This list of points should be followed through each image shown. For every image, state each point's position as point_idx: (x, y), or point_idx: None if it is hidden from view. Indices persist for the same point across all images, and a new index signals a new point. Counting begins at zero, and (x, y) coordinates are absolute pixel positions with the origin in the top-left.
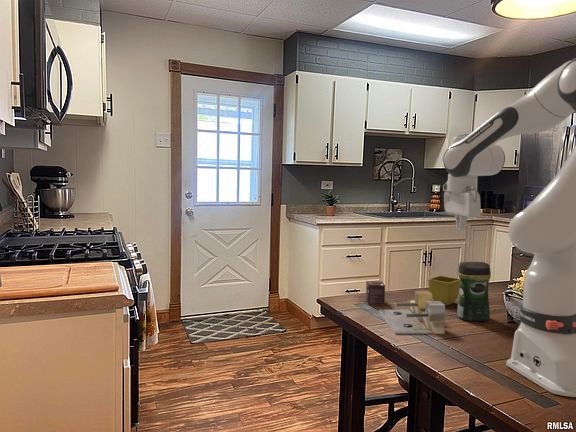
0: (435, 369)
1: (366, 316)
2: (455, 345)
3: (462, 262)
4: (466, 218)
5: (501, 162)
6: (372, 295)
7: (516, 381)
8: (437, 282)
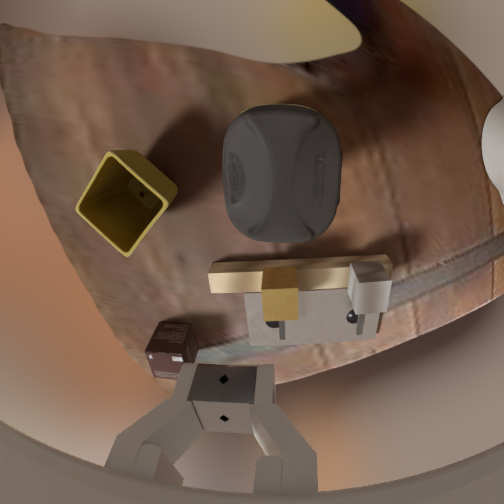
0: (487, 301)
1: (276, 363)
2: (437, 252)
3: (268, 234)
4: (316, 464)
5: None
6: (192, 358)
7: None
8: (146, 233)
